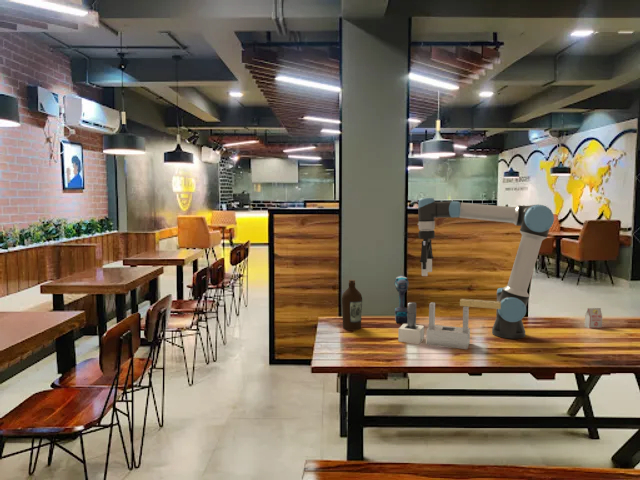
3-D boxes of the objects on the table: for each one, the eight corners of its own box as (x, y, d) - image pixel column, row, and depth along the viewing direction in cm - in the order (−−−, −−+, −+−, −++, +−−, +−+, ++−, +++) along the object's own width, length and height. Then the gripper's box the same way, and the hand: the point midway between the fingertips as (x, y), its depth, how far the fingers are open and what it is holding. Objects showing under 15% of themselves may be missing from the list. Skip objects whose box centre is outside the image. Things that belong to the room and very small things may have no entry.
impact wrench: (406, 316, 268) (406, 272, 266) (410, 326, 246) (410, 279, 244) (392, 315, 269) (392, 272, 267) (394, 326, 246) (395, 279, 244)
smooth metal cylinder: (416, 335, 223) (417, 302, 222) (414, 338, 219) (415, 304, 218) (408, 335, 224) (408, 302, 223) (406, 337, 221) (406, 303, 220)
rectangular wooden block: (500, 307, 207) (501, 301, 206) (500, 309, 203) (500, 303, 203) (460, 304, 213) (461, 298, 213) (459, 305, 210) (459, 300, 210)
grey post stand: (469, 343, 216) (470, 304, 215) (467, 349, 207) (468, 308, 206) (430, 338, 223) (430, 300, 222) (426, 344, 214) (426, 305, 213)
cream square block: (423, 338, 224) (424, 325, 224) (419, 343, 215) (419, 331, 215) (403, 335, 228) (403, 323, 228) (398, 341, 219) (398, 328, 219)
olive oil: (337, 326, 245) (337, 279, 243) (354, 324, 250) (355, 277, 248) (348, 331, 236) (348, 282, 234) (366, 328, 241) (366, 280, 239)
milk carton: (584, 326, 245) (585, 307, 244) (597, 326, 245) (598, 307, 245) (589, 328, 241) (590, 309, 240) (601, 327, 242) (602, 308, 241)
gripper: (423, 228, 239) (423, 270, 240) (413, 231, 216) (414, 277, 217) (438, 228, 236) (438, 270, 237) (430, 231, 213) (430, 278, 214)
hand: (427, 274), depth 227 cm, fingers open, 13 cm apart
